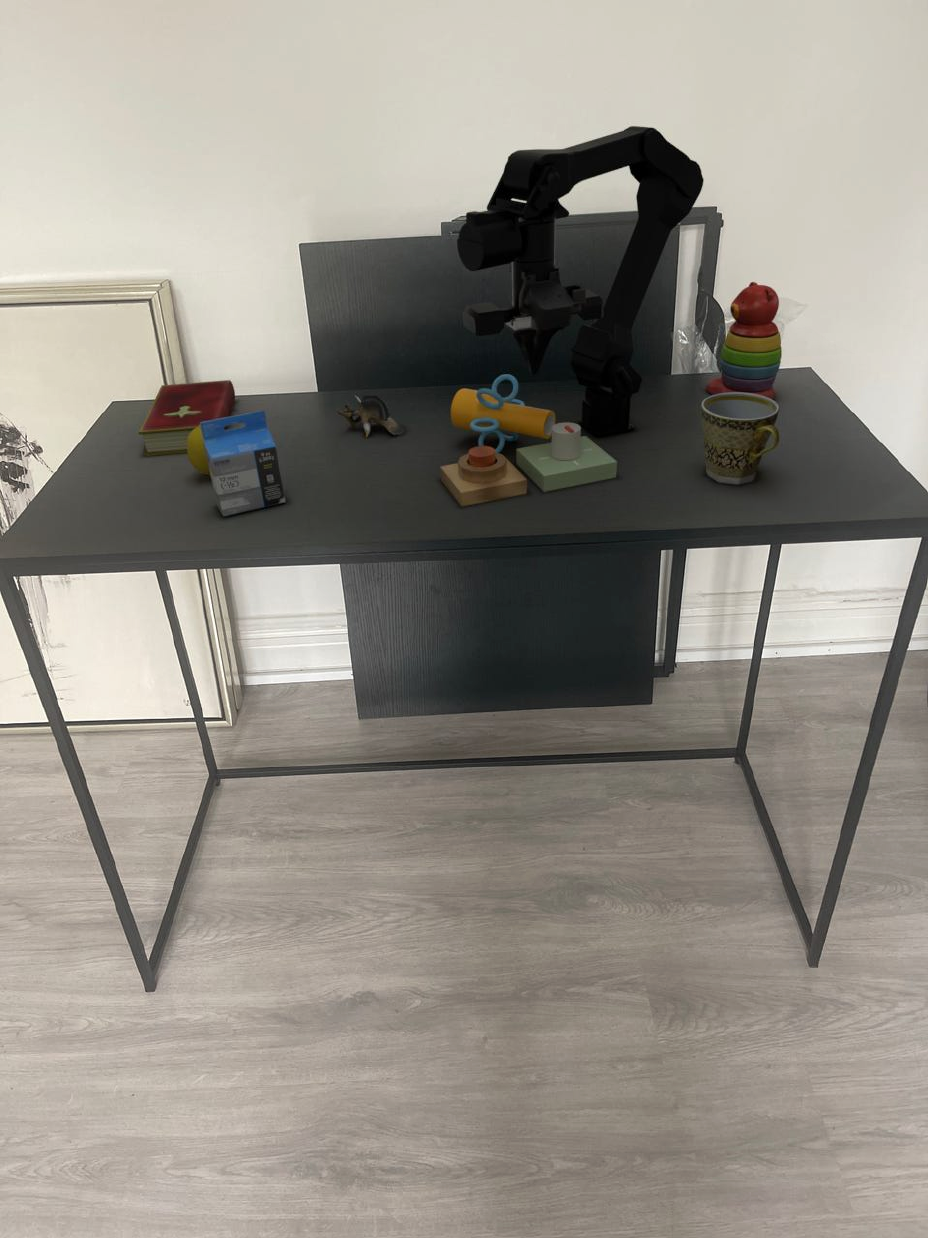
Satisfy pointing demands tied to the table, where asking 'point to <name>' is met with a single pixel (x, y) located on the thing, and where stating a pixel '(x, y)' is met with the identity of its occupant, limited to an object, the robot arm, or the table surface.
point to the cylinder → (499, 414)
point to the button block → (482, 481)
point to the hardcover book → (184, 413)
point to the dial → (566, 441)
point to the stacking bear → (751, 345)
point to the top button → (482, 456)
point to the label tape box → (243, 463)
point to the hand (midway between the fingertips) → (533, 373)
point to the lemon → (197, 451)
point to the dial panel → (566, 465)
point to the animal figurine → (371, 414)
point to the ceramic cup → (737, 434)
